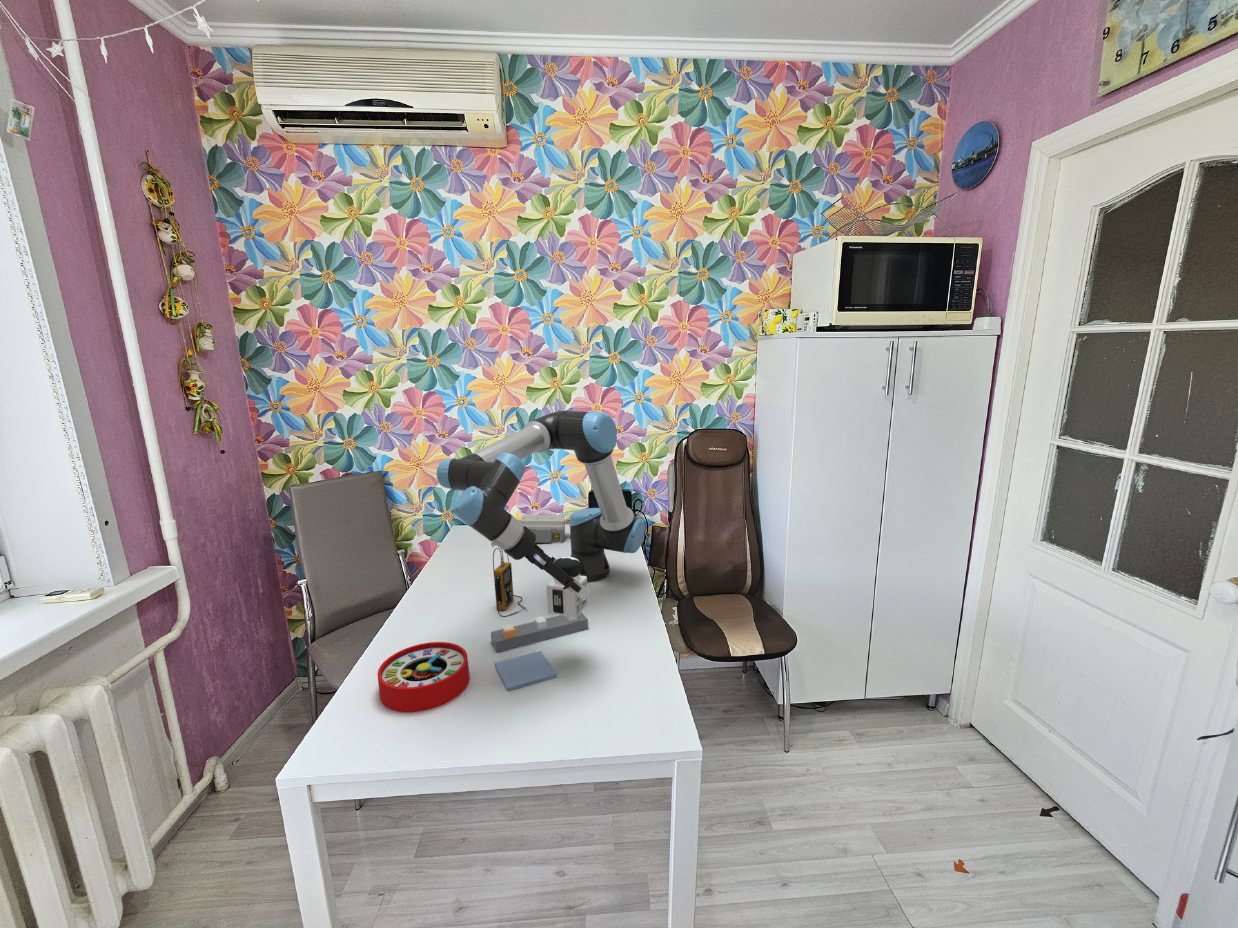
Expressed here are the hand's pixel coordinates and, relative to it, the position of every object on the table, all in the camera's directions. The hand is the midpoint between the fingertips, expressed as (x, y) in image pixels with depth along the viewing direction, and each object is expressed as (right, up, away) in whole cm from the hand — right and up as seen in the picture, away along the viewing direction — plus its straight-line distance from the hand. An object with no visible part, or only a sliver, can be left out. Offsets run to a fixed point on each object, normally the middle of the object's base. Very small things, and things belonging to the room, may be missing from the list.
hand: (578, 587), depth 135 cm
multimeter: (-22, -14, +33) cm, 42 cm away
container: (-2, -6, 0) cm, 6 cm away
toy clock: (-36, -22, -7) cm, 42 cm away
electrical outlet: (-22, -2, +95) cm, 97 cm away
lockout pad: (-13, -20, -2) cm, 24 cm away
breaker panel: (-11, -17, +15) cm, 25 cm away
